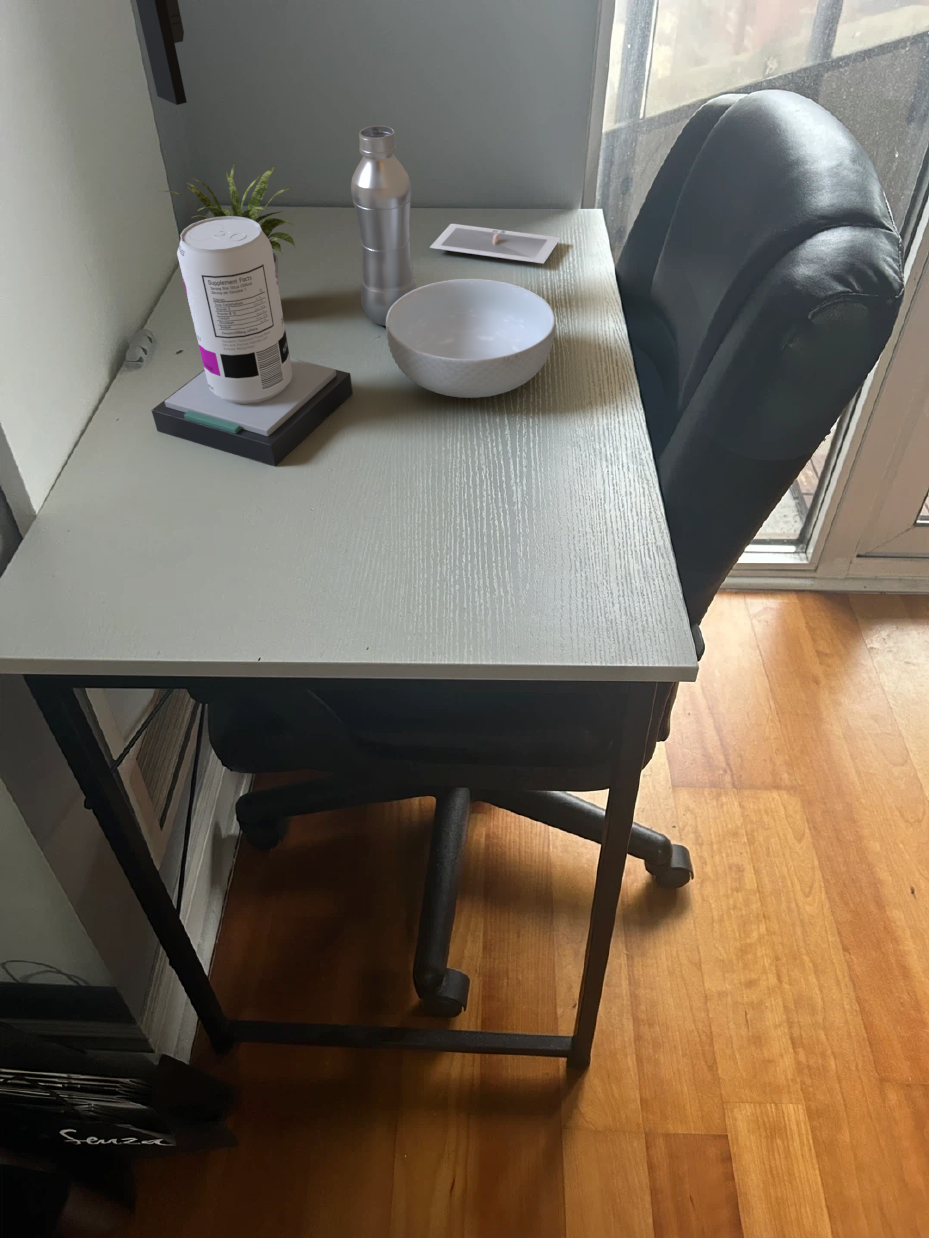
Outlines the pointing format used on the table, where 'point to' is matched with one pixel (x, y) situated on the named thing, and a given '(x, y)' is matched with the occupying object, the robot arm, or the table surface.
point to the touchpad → (496, 243)
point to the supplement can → (235, 308)
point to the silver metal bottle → (382, 222)
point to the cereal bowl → (470, 336)
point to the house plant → (251, 209)
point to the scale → (255, 413)
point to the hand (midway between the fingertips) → (79, 123)
